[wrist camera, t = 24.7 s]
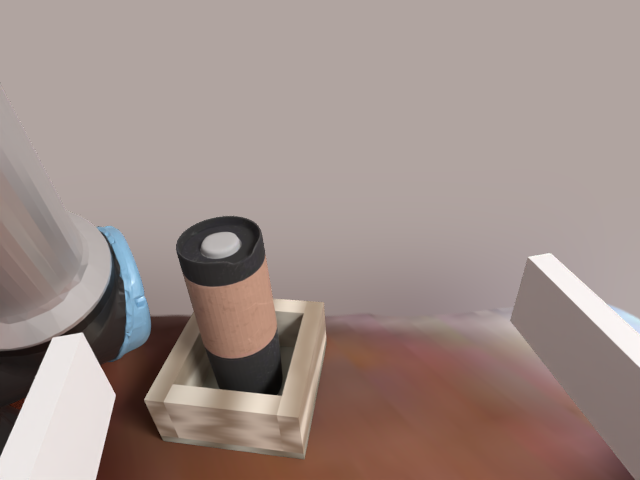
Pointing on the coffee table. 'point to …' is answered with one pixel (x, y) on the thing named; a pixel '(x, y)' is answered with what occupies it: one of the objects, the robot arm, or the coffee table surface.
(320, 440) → the coffee table surface
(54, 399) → the robot arm
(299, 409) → the well
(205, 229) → the travel mug
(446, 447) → the coffee table surface
